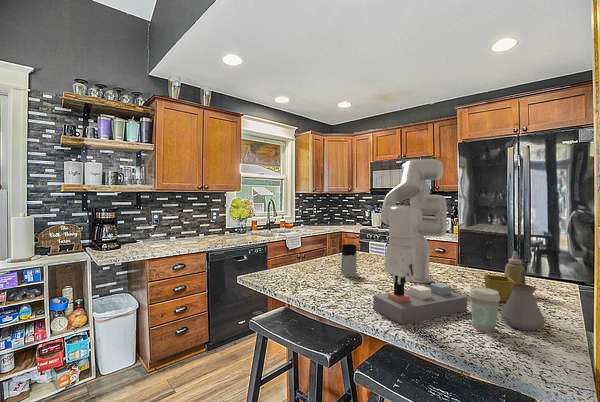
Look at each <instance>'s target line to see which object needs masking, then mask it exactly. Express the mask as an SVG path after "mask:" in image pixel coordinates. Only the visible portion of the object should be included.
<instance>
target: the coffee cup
mask: <svg viewBox="0 0 600 402" xmlns="http://www.w3.org/2000/svg"><path fill="white" fill-rule="evenodd" d="M468 295H469V299H470V301H469V302H470V311H471V321H472V322H471V323H472V327H473V328H474V329H475V330H477V331H480V332H482V333H483V332H484V333H493V332H495V330H496V329H495V328H496V323H497V318H498V311H499V306H500V302H499V301H500V300H501V299H500V296H499V292H498V291H496V290H493V289H489V288H485V286H484V287H482V286H472V287H471V288H470V289H469V292H468Z"/></svg>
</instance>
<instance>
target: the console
mask: <svg viewBox="0 0 600 402" xmlns="http://www.w3.org/2000/svg"><path fill="white" fill-rule="evenodd" d="M426 287H427V286H426ZM427 288H429V289H430V286H428V287H427ZM388 293H389V292H388ZM388 293H387V292H386V293H380V294H374V295H373V296H372V297H373V298H372V309H373V310H374V311H376V312H378V313H380V314H381V315H383V316H385V317H387V318H389V319H390V320H392V321H394V322H395V323H397V324H400V325H404V324H409V323H415V322H419V321H424V320H428V319H434V318H438V317H443V316H448V315H452V314H457V313H458V314H459V313H462V312H466V311H468V296H466V295H463V294H460V293H457V292H454V291H451V295H446V296H439V295H436V294H434V293H431V298H428V299H422V300H420V299H418V298H415V297H413V296H410V289H406V290H404V294H406V295H408V296H410V302H404V303H396V302H394V301H392V300H390V299H388ZM391 293H394V291H392V292H391Z"/></svg>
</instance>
